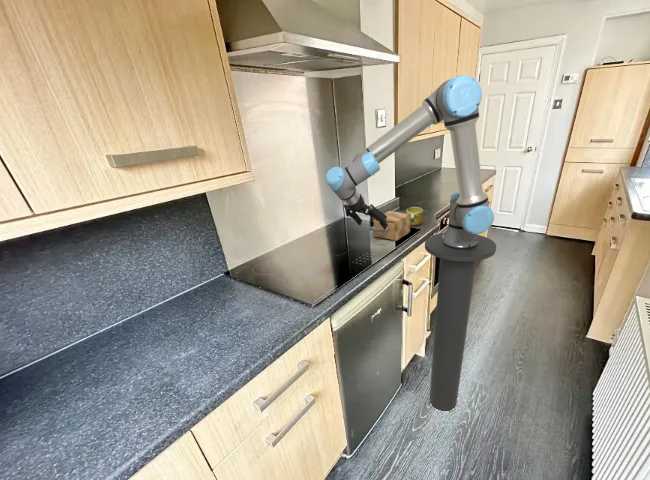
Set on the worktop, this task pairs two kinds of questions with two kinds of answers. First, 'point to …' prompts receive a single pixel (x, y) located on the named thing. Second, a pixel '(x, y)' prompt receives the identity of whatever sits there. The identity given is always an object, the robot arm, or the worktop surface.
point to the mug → (415, 215)
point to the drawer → (382, 233)
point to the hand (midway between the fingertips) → (373, 225)
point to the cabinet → (399, 223)
